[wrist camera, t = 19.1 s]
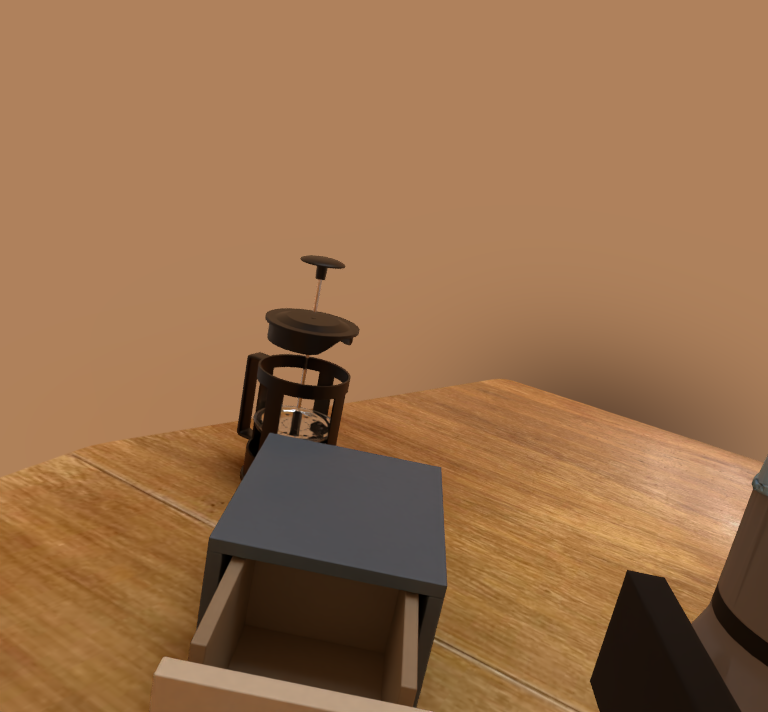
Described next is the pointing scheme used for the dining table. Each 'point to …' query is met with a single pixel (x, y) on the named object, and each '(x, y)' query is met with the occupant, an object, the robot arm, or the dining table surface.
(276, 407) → the french press
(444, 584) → the cabinet
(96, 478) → the dining table surface
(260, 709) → the drawer
